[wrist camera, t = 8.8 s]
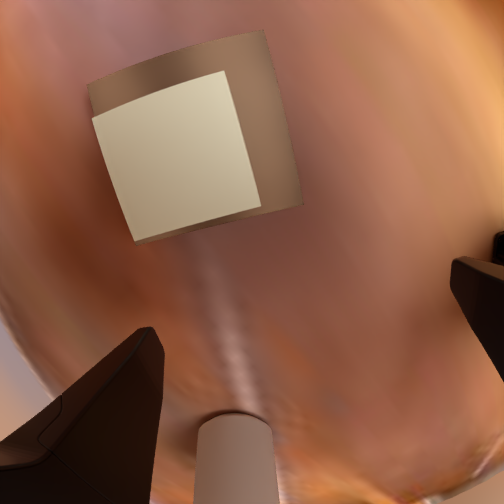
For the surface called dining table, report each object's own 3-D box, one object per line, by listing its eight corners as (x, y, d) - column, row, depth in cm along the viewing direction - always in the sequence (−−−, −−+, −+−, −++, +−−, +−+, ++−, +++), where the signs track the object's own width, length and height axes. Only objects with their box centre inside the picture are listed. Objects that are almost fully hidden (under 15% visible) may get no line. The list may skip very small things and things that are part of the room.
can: (183, 422, 29) (172, 527, 18) (244, 398, 28) (250, 517, 17) (227, 452, 32) (228, 544, 21) (284, 432, 30) (298, 532, 19)
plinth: (259, 41, 17) (263, 29, 14) (294, 192, 21) (304, 204, 18) (106, 87, 17) (86, 84, 14) (148, 228, 21) (136, 245, 18)
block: (229, 85, 15) (223, 70, 10) (253, 175, 17) (261, 206, 12) (138, 115, 15) (91, 118, 10) (166, 200, 17) (134, 241, 12)
